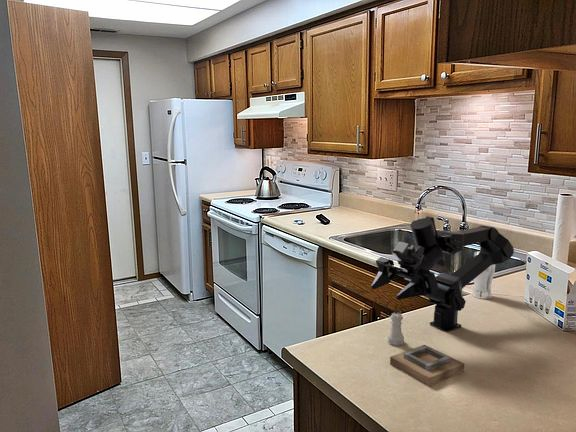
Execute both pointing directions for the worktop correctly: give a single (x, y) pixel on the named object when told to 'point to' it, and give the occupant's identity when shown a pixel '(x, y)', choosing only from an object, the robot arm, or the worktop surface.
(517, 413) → the worktop surface
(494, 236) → the robot arm
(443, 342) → the worktop surface
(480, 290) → the beer glass
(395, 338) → the rook chess piece
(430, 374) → the plinth
